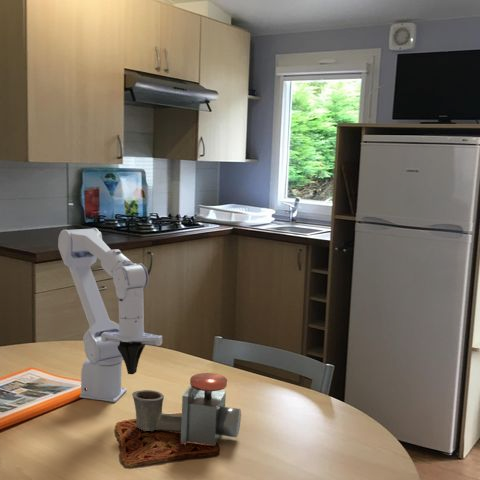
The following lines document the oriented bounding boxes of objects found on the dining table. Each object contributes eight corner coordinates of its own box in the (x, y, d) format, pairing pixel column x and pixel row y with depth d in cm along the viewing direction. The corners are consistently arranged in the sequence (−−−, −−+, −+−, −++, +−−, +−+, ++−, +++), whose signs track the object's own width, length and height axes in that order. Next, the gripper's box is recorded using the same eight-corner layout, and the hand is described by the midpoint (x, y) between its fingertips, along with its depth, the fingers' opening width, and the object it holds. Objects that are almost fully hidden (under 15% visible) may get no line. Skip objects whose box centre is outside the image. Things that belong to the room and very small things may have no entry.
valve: (178, 444, 132) (180, 386, 130) (192, 422, 143) (195, 368, 141) (231, 452, 130) (235, 393, 128) (242, 429, 141) (245, 374, 139)
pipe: (181, 440, 134) (182, 405, 133) (126, 431, 137) (126, 397, 136) (189, 428, 140) (191, 394, 139) (136, 420, 143) (137, 387, 142)
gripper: (94, 318, 142) (96, 375, 144) (154, 321, 139) (155, 380, 141) (108, 311, 149) (109, 366, 151) (165, 315, 146) (165, 371, 147)
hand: (132, 373), depth 146 cm, fingers closed
